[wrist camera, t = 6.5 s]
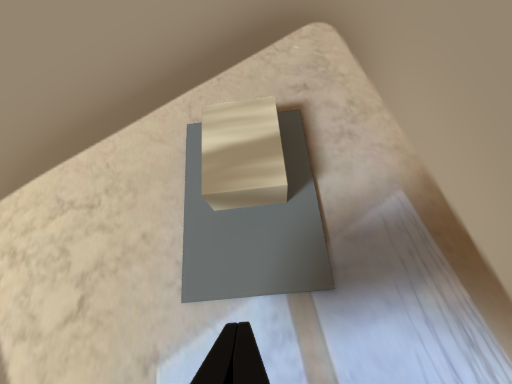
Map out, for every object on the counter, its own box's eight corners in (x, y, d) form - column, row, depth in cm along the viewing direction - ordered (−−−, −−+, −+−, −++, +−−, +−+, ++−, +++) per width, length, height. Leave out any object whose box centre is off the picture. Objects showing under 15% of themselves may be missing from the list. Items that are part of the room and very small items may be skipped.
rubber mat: (333, 289, 18) (334, 288, 17) (183, 302, 18) (181, 303, 18) (299, 112, 24) (299, 109, 24) (188, 127, 25) (186, 124, 24)
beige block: (287, 184, 17) (274, 95, 20) (201, 194, 17) (201, 105, 21) (286, 202, 20) (275, 123, 23) (214, 210, 21) (212, 131, 24)
